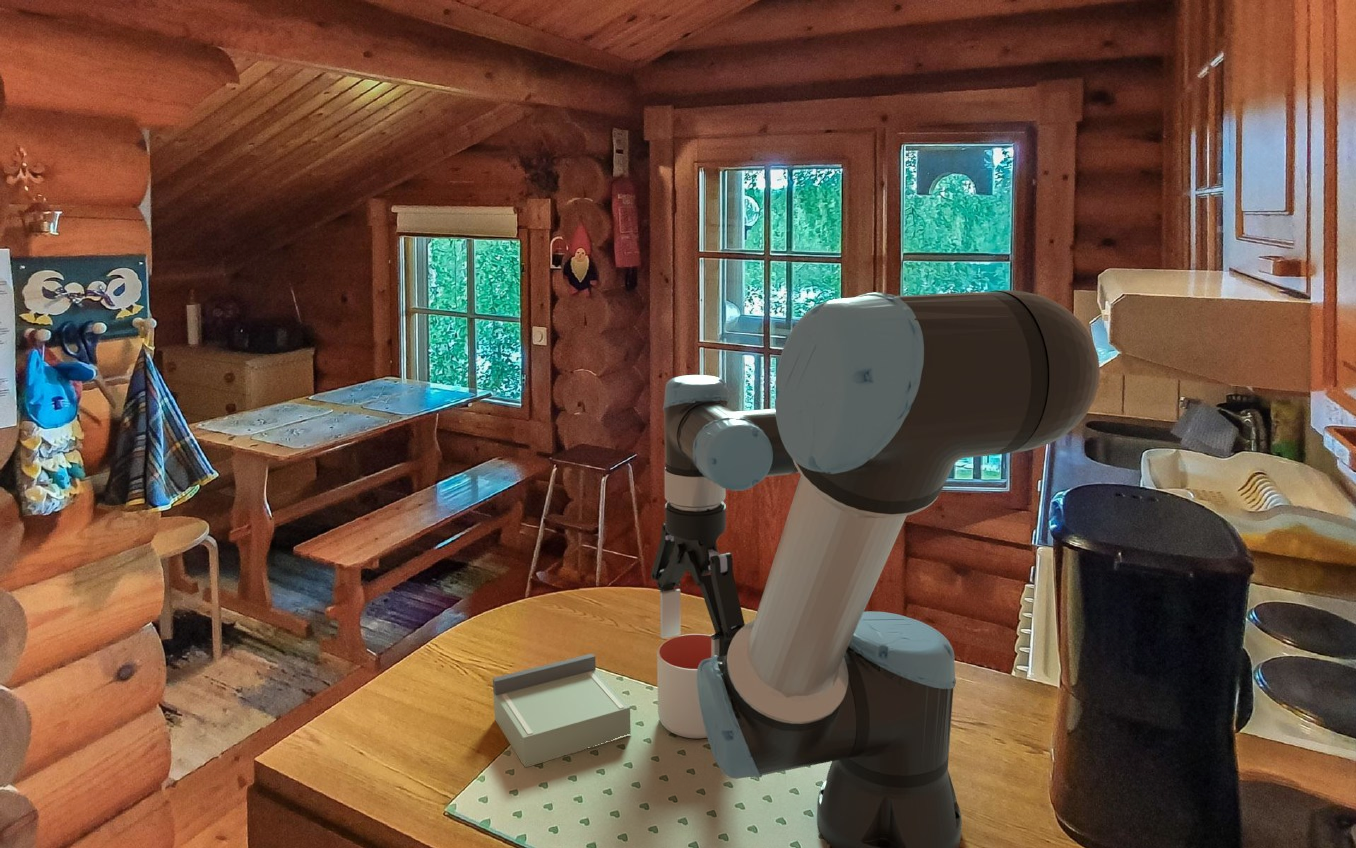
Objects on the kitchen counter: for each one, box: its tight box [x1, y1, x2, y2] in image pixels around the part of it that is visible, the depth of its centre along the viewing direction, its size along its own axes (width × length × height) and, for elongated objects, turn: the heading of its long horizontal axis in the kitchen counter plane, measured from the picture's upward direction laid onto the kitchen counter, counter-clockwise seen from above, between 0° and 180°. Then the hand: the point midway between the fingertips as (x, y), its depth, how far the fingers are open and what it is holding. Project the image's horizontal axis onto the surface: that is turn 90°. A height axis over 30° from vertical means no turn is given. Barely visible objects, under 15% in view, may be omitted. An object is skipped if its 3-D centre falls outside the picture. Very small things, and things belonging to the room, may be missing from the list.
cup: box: [656, 633, 711, 739], centre depth 117 cm, size 10×10×10 cm
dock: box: [492, 653, 632, 768], centre depth 116 cm, size 12×14×6 cm
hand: (695, 657), depth 117 cm, fingers open, 13 cm apart
